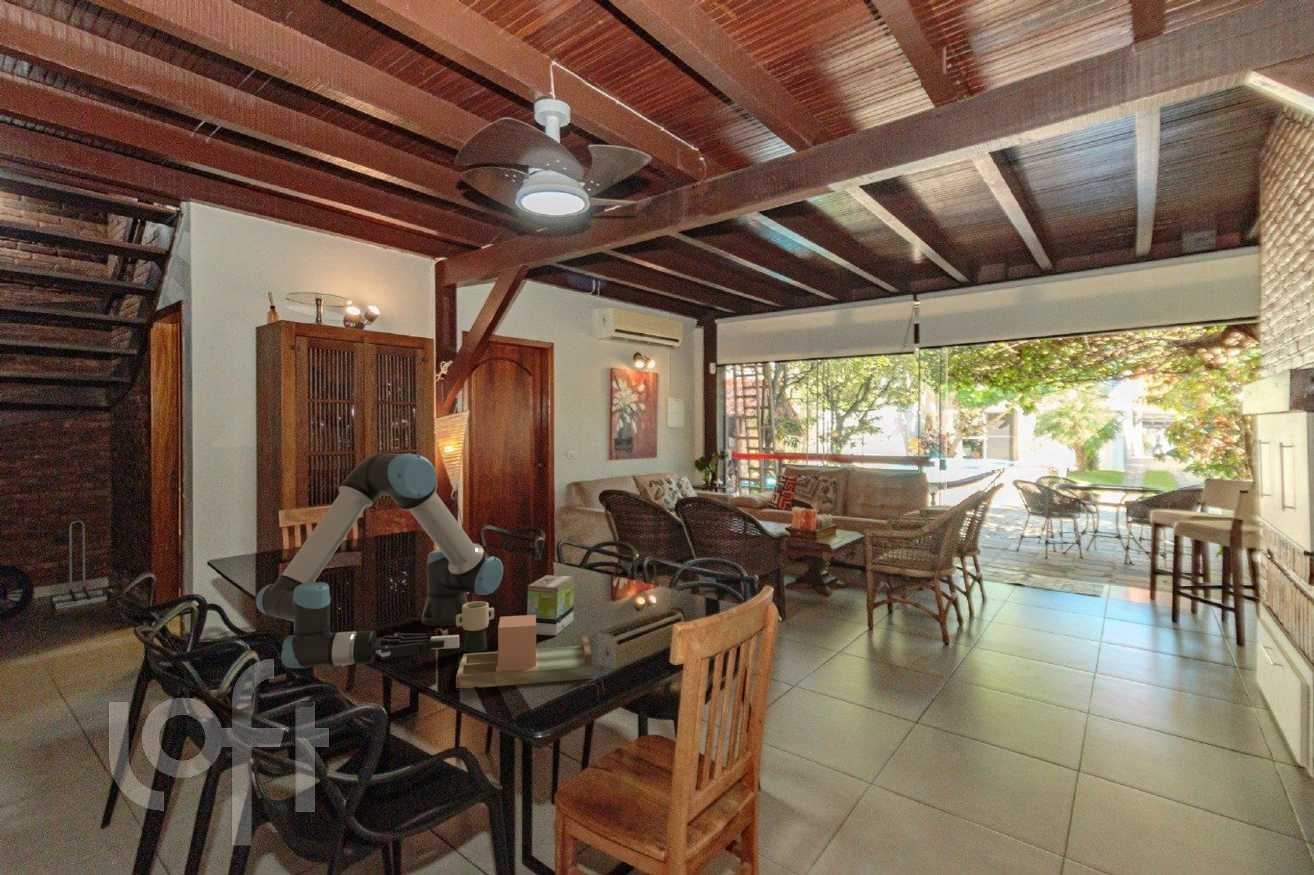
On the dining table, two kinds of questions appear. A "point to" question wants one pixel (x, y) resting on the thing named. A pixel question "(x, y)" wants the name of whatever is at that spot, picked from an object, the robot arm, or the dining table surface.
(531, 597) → the tea box
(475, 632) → the character mug
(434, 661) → the dining table surface
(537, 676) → the trap deck
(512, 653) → the terracotta block
